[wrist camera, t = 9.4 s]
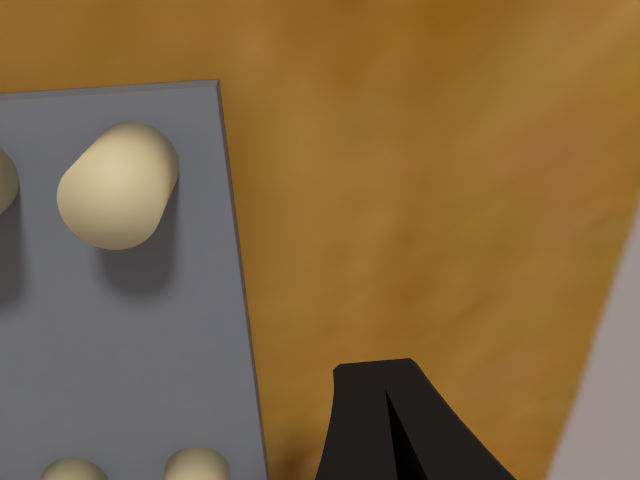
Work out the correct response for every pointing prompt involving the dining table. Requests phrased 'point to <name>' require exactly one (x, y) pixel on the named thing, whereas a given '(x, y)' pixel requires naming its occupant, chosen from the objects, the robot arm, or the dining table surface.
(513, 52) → the dining table surface
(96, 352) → the board
